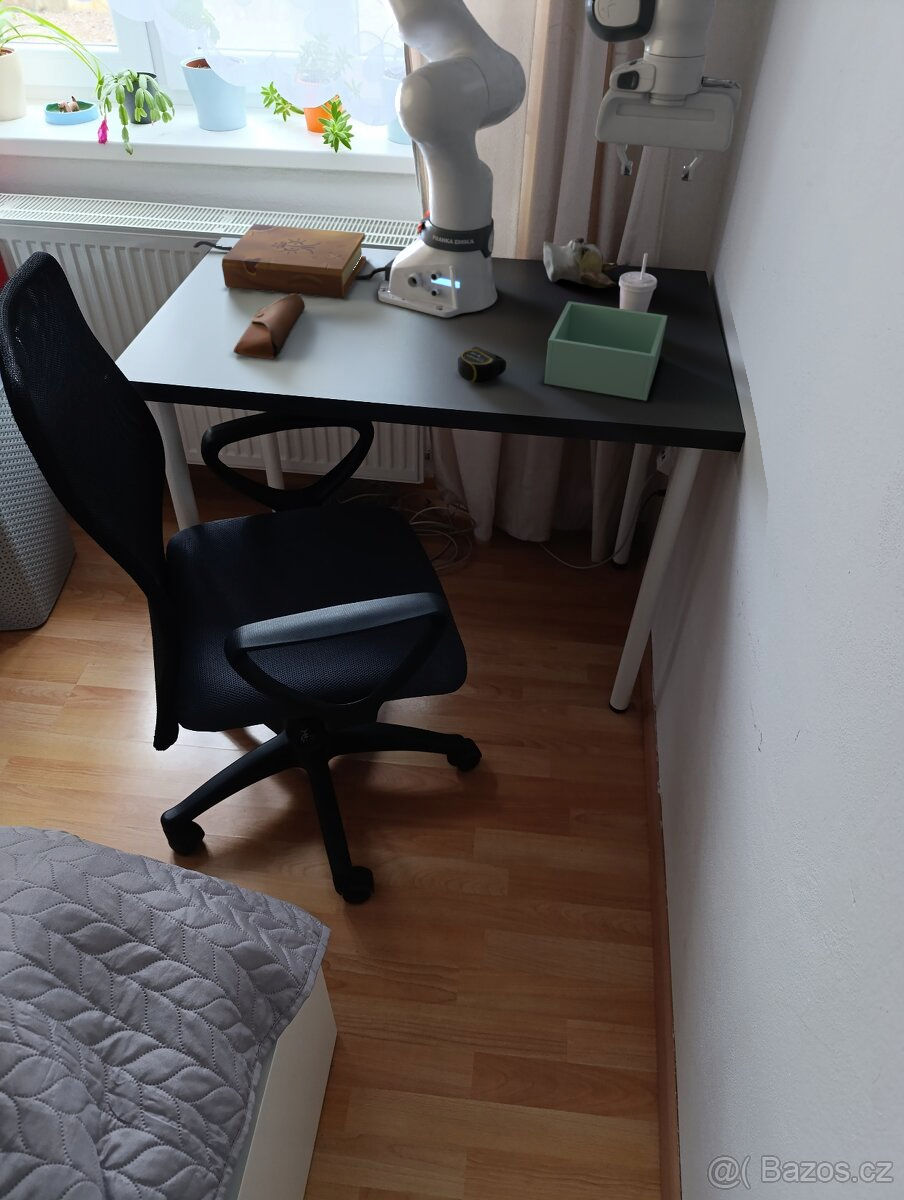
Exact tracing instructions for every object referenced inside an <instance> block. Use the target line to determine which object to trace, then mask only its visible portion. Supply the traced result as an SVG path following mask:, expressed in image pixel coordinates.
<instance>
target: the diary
mask: <svg viewBox="0 0 904 1200" xmlns="http://www.w3.org/2000/svg"><path fill="white" fill-rule="evenodd" d="M365 238H366V233H365V232H358V231H347V230H346V231H345V230H334V229H323V228H322V229H321V228H309V227H297V226H296V227H294V226H285V225H284V226H283V225H271V224H261V223H260V224H258V223H252V225H251V227H249V228H248V230H247V231H246V232H245V233H244V234H243V235H242V236H241V238H240V239H239V240H238V241H237V242H236V243H235V244H234V245H233V246H232V247H233V248H232V249H231V250H230V251H227V253H226V254H225V255H224V256H223V257H222V260H221V271H222V275H223V281H224V285H225V287H226V288H227V289H237V290H246V291H259V292H268V293H278V294H279V293H281V294H282V293H283V294H289V295H290V294H293V293H297V294H299V295H300V296H313V297H325V298H333V299H345V297H346V296H347V294H348V293H349V291H350V290H351V288H352V286H353V284H354V283H355V281H356V280H355V276H359V274H360V272H361V270H362V269H363V267H364V266H365V263H366V262H367V256H364V255H363V252H362V243H363V241H364V240H365ZM361 255H362V257H361ZM360 257H361V259H360ZM359 259H360V260H359ZM358 261H359V262H358ZM357 262H358V264H357ZM356 264H357V265H356ZM355 266H356V267H355ZM354 267H355V268H354ZM353 269H354V270H353Z"/></svg>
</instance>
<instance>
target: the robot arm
mask: <svg viewBox="0 0 904 1200" xmlns="http://www.w3.org/2000/svg"><path fill="white" fill-rule="evenodd" d="M382 2H383V5H384V7H385V10H386V12H387V14H388V16H389V19H390V20H391V23H392V25H393V27H394V29H395V33H396V34H397V35H398V38H399V39H400V40H401V41H402V42H403V43H404V44H405V45H407V46H408V47H410V48H411V49H414V50H415V51H417V52H418V53H420V54H421V55H422V56H423V57H424V58H425V59H426V60H427V61H428V62H427V63H425V64H423V65H421V66H419V67H418V68H416V69H415V70H413V71H411V72H410V73H409V74H407V75H406V76H405V77H403V78H402V79H401V81H400V83H399V84H398V86H397V90H396V93H395V111H396V116H397V120H398V123H399V125H400V126H401V128H402V130H403V131H404V133H405V134H406V136H408V137H409V139H411V140H412V141H413V142H414V143H415V144H416V145H417V147H418V148H419V150H420V152H421V155H422V157H423V159H424V163H425V167H426V171H427V177H428V194H429V195H428V199H429V202H428V203H429V209H428V210H427V211H426V212H425V213H424V214H423V218H422V219H421V220H420V221H419V225H418V226H417V227H416V229H417V232H416V233H417V234H418V235H419V236H420V237H418V238H417V239H416V240H414V241H413V242H411V243H410V244H409V245H408V246H406V247H405V248H403V249H402V250H401V251H400V252H399V253H398V254H397V255H396V256H395V257H394V258H392V259H391V260H390V261H389V262H387V263H386V264H385V265H384V266H382V267H376V268H374V269H373V270H372V271H371V272H370V273H369V274H362V275H358V276H355V281H365V280H371V279H372V278H374V277H375V276H376V275H377V274H379V273H384V280H383V281H382V282H381V283H380V285H379V286H378V291H377V298H378V299H379V301H380V302H383V303H387V304H390V305H394V306H399V307H401V308H406V309H410V310H414V311H417V312H421V313H425V314H428V315H432V316H437V317H441V318H446V319H447V318H453V317H455V316H457V315H461V314H466V313H475V312H478V311H481V310H484V309H487V308H489V307H491V306H493V305H494V304H495V302H497V299H498V292H497V290H496V289H497V288H496V285H495V280H494V271H493V261H492V259H493V258H492V254H493V251H494V247H495V246H494V245H495V222H494V221H495V219H494V218H493V197H494V196H493V194H494V175H493V172H492V169H491V168H490V166H489V165H488V164H487V163H486V162H485V161H483V160H482V159H481V158H480V157H479V154H478V150H477V144H476V135H477V132H478V131H481V130H485V129H488V128H491V127H494V126H497V125H499V124H501V123H502V122H504V121H505V120H506V119H508V118H510V117H511V116H512V115H513V114H514V113H516V112H517V111H518V110H519V109H520V108H521V106H522V104H523V102H524V100H525V96H526V90H527V81H526V80H527V79H526V74H525V71H524V67H523V66H522V64H521V62H520V60H519V59H518V58H517V56H515V55H514V54H513V53H512V52H510V51H508V50H507V49H504V48H503V47H501V46H500V45H499V44H498V43H496V42H495V41H494V39H493V38H492V37H490V36H489V34H488V33H487V31H486V30H485V29H484V28H483V27H482V26H481V25H480V23H479V22H478V21H477V19H476V18H475V17H474V15H473V14H472V12H471V11H470V9H469V8H468V6H467V5H466V3H465V2H464V0H382ZM716 4H717V0H585V2H584V10H585V16H586V21H587V24H588V26H589V28H590V30H591V31H592V33H593V34H594V36H595V37H597V38H598V39H599V40H601V41H603V42H607V43H613V44H621V43H626V42H629V41H634V40H641V41H643V43H644V51H643V57H640V58H637V59H634V60H630V61H627V62H623V63H620V64H618V65H617V66H615V67H614V68H613V70H612V71H611V73H610V76H609V88H608V90H607V91H606V93H605V94H604V96H603V97H602V100H601V103H600V106H599V109H598V115H597V118H596V123H595V124H596V125H595V130H594V131H595V132H594V135H595V138H596V140H597V141H598V142H599V143H606V144H616V154H617V156H618V159H619V161H620V163H621V169H620V175H621V176H627V177H628V176H629V177H630V176H631V174H632V170H633V168H632V167H633V163H634V160H629V159H628V156H627V154H626V152H627V151H626V150H627V149H628V147H629V146H628V145H630V146H644V147H656V148H668V149H678V150H679V149H680V150H692V151H694V152H693V158H694V159H693V161H692V162H691V163H690V165H683V169H682V176H681V181H684V182H692V179H693V174H694V170H695V169H696V168H697V167H698V165H699V164H700V162H701V161H702V160H703V159H704V154H705V152H716V153H723V152H724V151H726V150H727V149H728V148H729V147H730V146H731V142H732V141H731V140H732V135H733V129H734V128H733V126H734V118H735V117H734V116H735V114H736V113H737V112H738V111H739V109H740V108H741V104H742V99H743V95H744V94H743V92H744V91H743V88H742V86H741V85H740V83H738V82H736V81H735V79H733V78H730V77H729V78H728V77H727V78H719V77H715V76H714V77H713V76H704V74H705V73H704V72H705V67H706V63H707V62H706V61H707V56H708V50H709V44H708V35H709V30H710V26H711V24H712V21H713V19H714V17H715V11H716ZM203 245H204V246H208V247H211V248H213V249H216V250H219V251H227V252H229V251H230V250H231V249H232V247H233V246H229V247H222V246H223V245H221V246H216V245H218V244H216V243H214V242H212V241H208V240H205V239H202V240H198V241H196V242H195V243H194V245H193V248H194V249H196V248H197V249H198V248H199V247H200V246H203Z"/></svg>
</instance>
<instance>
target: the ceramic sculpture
mask: <svg viewBox="0 0 904 1200" xmlns="http://www.w3.org/2000/svg"><path fill="white" fill-rule="evenodd" d="M542 251H543V265H544V267H545V270H546V273H547V277H548V279H549V281H550V282H551V283H556V282H557V281H558V280H565V281H570V282H573V283H574V284H580V285H587V286H589V287H591V288H592V289H593V288H594V289H606V288H610V287H615V286H617V284H618V283H617V282H616V281H613V280H611V279H610V277H609V276H608V275H606V274H605V273H606V272H608V271H611V270H612V269H615V268H616V267H618V266H619V263H618V262H611V263H609V262H607V261H606V260H604V254H603V252H602V251H601V249H600V248H599V247H598V246H597V245H596V244H593V243H591V244H590V243H589V242H585V239H584V238H583V237H579V238H578V237H577V238H574V239H572V240H570V241H569V242H568V243H567V244H566V245H563V246H561V245H558V244H556V243H554V242H548V241H543V249H542Z"/></svg>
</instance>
